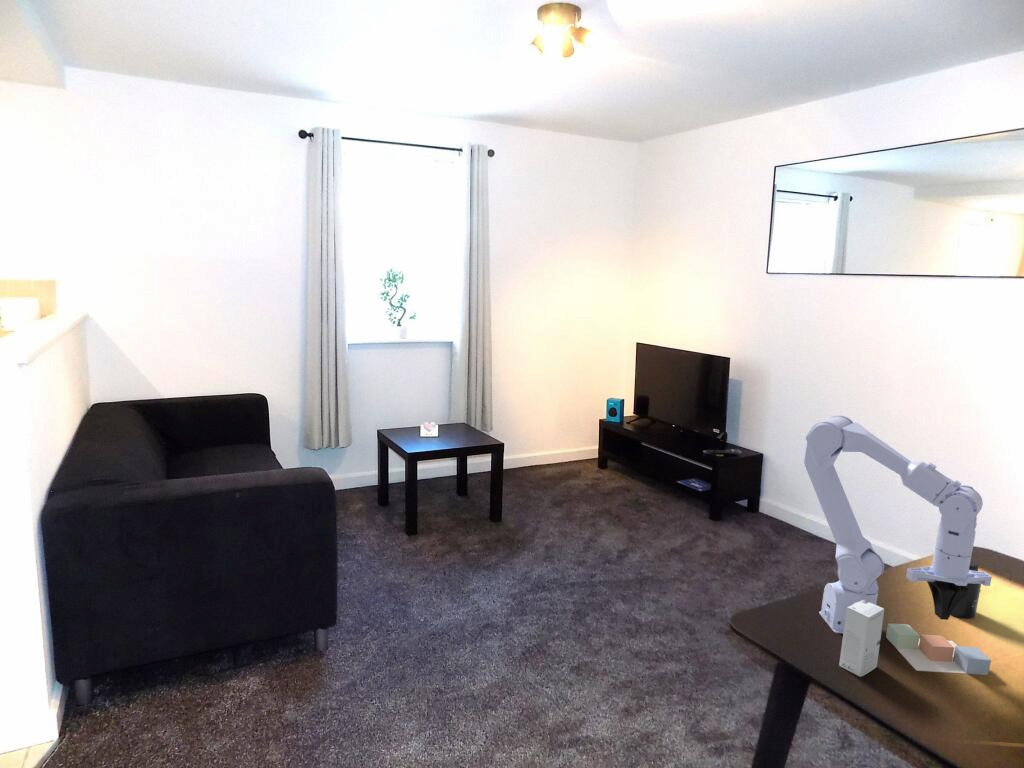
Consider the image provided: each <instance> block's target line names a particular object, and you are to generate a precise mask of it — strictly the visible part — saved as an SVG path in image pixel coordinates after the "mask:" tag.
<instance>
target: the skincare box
mask: <svg viewBox="0 0 1024 768" xmlns="http://www.w3.org/2000/svg"><path fill="white" fill-rule="evenodd" d="M884 613H885V608H884V607H881V606H880V605H877V604H876V605H874V604H872V603H870V602H867V601H865V600H862V601H860V602H857V603H854V604H853V605H852V606H849V607H847V610H846V618H845V626H844V633H842V634H843V635H842V641H841V649H840V657H839V664H838V666H839V667H841V668H843V669H845V670H847V671H848V672H850V673H852V674H854V675H856V676H857V677H860V678H861V677H864V676H865V675H867V674H868V673H870V672H872V671H874V669H876V668H877V667H878V661H879V660H878V659H879V655H880V654H879V652H880V646H881V640H882V631H883V623H884V615H885V614H884Z"/></svg>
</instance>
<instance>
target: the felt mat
mask: <svg viewBox="0 0 1024 768" xmlns="http://www.w3.org/2000/svg"><path fill="white" fill-rule="evenodd" d="M885 637H886V636H885ZM886 639H887V640H888V638H887V637H886ZM946 640H947V639H946ZM947 641H948V642H949V643H950V644H951V645H952V646H953V647H954V651H955V646H958V645H957V644H956V643H955V642H954V641H953V640H947ZM919 642H920V638H919ZM894 648H895V649H897V651H898V652H899V653H900V654H901V655H902V657H904V659H905V660H906V661H907V662H908V663H909V665H910V666H912V667H913V669H915V671H917V672H918V671H919V672H932V673H933V672H934V673H948V674H949V673H950V674H951V673H952V674H967V675H969V673H965V672H964V671H963V670H962V669H961V668H960V667H959V666H958V665H957V664H956V663H955V662H954V661H953V658H952V662H948V661H931V660H929V659H928V658H927V657H926V656H925V654H924V653H923V652H922V651H921V650H920V649H919V643H918V649H917V650H916V649H899V648H896V647H895V646H894ZM953 657H954V652H953ZM981 675H983V676H984V675H985V676H987V675H986V674H981Z"/></svg>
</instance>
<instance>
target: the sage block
mask: <svg viewBox="0 0 1024 768" xmlns="http://www.w3.org/2000/svg"><path fill="white" fill-rule="evenodd" d="M885 635H886V636H885V637H887V638H888V639H887V638H886V639H887V640H888V641H889V642H890V643H891V644H892V645H893V646H894V648H895V647H896V648H899V649H916V650H917V649H918V643H919V639H920V637H921V634H919V633H918V632H917V631H916V630H914V628H913V627H912V626H911V625H910V624H906V623H905V624H904V623H890V622H889V623H887V628H886V634H885ZM896 648H895V649H896Z"/></svg>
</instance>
